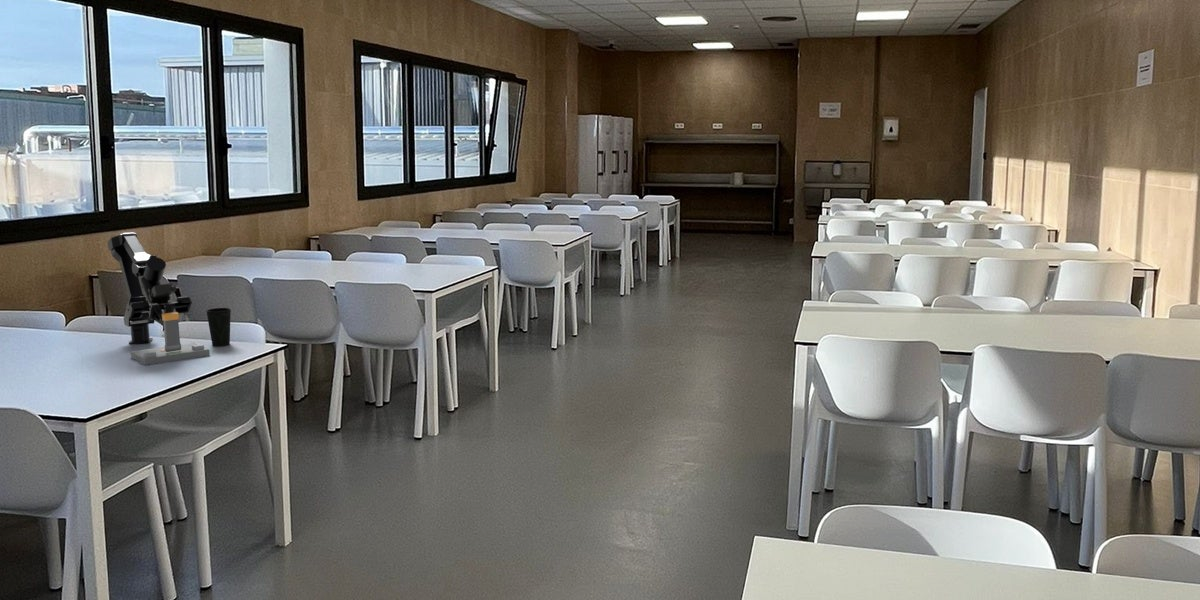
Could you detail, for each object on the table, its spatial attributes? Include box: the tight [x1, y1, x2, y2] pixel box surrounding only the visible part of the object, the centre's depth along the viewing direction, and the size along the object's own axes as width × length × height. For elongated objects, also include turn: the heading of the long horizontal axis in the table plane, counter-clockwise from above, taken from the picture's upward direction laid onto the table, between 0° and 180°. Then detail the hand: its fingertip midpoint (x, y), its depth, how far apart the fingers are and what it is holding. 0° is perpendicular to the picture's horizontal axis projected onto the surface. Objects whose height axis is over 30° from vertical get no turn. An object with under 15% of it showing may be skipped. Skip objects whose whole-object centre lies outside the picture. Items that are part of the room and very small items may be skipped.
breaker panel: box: [130, 342, 211, 366], centre depth 333 cm, size 14×20×3 cm
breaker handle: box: [162, 311, 182, 352], centre depth 330 cm, size 2×4×12 cm, turn 131°
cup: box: [206, 307, 232, 348], centre depth 349 cm, size 8×8×12 cm
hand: (168, 328), depth 332 cm, fingers closed
